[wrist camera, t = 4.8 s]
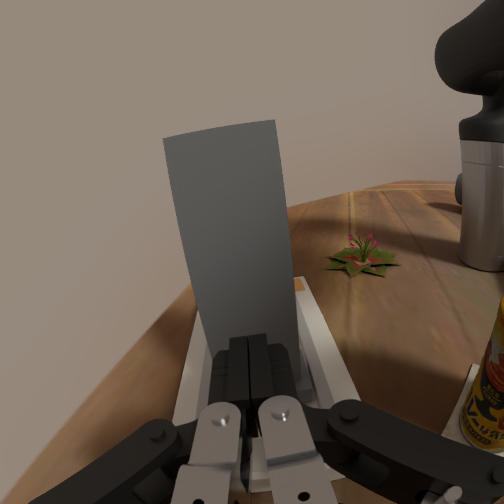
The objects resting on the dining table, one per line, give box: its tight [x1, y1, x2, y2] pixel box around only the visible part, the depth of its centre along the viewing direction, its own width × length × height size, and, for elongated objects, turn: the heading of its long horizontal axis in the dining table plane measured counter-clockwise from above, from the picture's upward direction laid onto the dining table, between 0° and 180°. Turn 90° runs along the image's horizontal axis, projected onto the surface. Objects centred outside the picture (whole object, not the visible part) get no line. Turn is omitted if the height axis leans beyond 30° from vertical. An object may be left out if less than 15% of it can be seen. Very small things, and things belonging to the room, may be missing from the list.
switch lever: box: [163, 120, 313, 403], centre depth 15 cm, size 4×6×16 cm, turn 93°
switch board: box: [172, 276, 361, 493], centre depth 23 cm, size 24×12×3 cm, turn 2°
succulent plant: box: [325, 232, 400, 278], centre depth 39 cm, size 12×12×5 cm
